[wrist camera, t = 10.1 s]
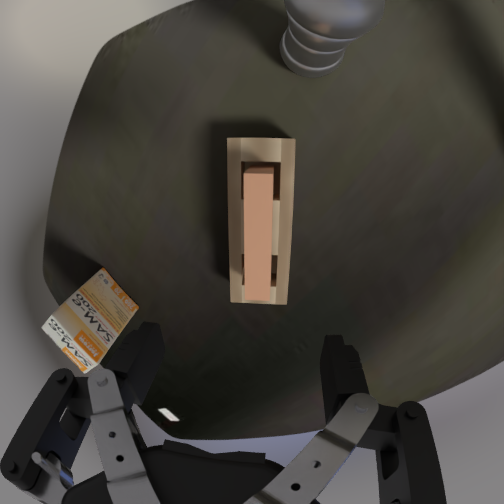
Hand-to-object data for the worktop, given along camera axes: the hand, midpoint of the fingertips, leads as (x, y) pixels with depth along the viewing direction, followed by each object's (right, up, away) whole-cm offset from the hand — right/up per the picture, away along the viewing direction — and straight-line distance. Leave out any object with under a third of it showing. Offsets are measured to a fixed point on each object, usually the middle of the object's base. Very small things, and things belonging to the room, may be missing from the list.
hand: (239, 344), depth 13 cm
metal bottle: (+7, +26, +11) cm, 29 cm away
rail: (+2, +8, +19) cm, 21 cm away
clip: (+2, +8, +18) cm, 20 cm away
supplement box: (-20, -2, +26) cm, 33 cm away
